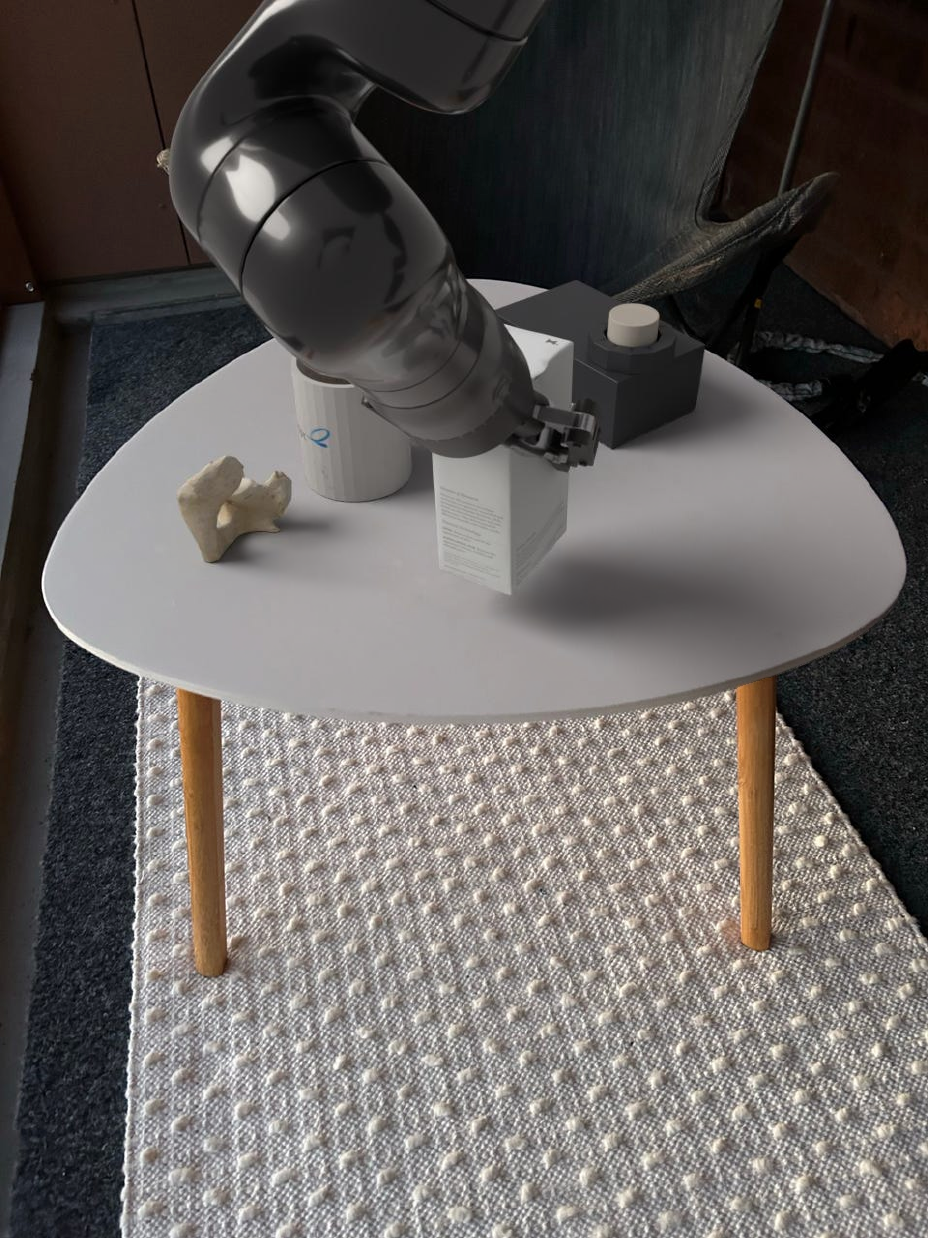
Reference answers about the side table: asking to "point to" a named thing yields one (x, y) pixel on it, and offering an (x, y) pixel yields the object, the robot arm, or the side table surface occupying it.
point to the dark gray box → (615, 361)
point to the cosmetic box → (506, 490)
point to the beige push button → (633, 325)
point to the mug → (346, 440)
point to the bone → (230, 504)
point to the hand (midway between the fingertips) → (515, 446)
